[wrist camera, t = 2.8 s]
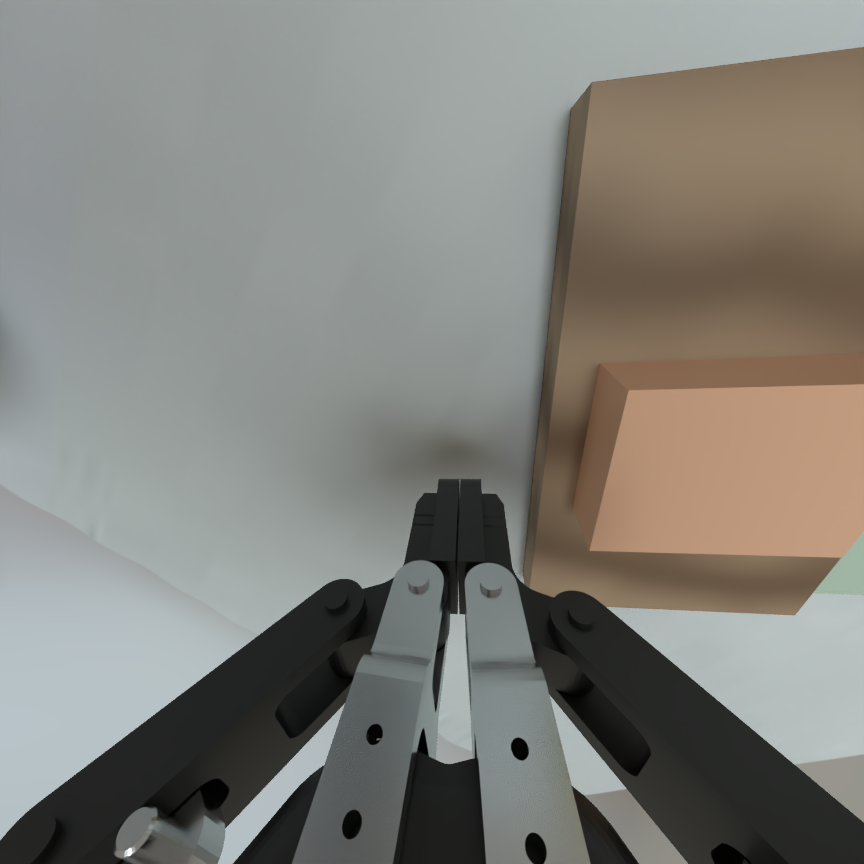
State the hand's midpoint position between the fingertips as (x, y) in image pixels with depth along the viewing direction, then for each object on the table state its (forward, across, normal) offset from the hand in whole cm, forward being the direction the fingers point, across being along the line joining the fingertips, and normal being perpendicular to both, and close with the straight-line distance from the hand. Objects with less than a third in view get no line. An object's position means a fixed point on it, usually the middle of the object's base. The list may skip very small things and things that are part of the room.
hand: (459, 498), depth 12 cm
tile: (+3, -10, 0) cm, 10 cm away
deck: (+5, -11, 0) cm, 12 cm away
